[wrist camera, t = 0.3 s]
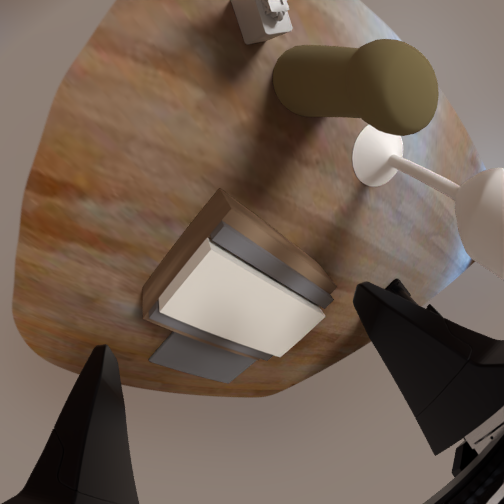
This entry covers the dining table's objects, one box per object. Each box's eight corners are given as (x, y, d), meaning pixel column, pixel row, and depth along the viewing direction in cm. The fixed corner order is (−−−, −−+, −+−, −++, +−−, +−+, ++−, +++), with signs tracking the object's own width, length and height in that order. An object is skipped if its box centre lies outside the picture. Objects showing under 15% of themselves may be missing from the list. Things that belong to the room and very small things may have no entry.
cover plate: (318, 305, 26) (325, 316, 24) (274, 345, 27) (280, 357, 26) (207, 237, 18) (211, 249, 17) (158, 298, 20) (159, 312, 19)
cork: (275, 119, 19) (370, 153, 10) (269, 43, 16) (367, 16, 7) (342, 116, 20) (449, 150, 12) (340, 48, 17) (452, 46, 8)
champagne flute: (363, 199, 26) (559, 379, 6) (342, 140, 22) (612, 328, 2) (408, 166, 25) (597, 305, 6) (393, 109, 21) (633, 239, 2)
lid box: (317, 262, 28) (341, 291, 24) (247, 332, 31) (260, 366, 27) (219, 187, 21) (234, 213, 17) (142, 286, 24) (142, 326, 20)
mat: (267, 347, 33) (268, 349, 33) (227, 381, 35) (228, 383, 35) (186, 316, 27) (186, 318, 27) (148, 359, 29) (148, 361, 28)
